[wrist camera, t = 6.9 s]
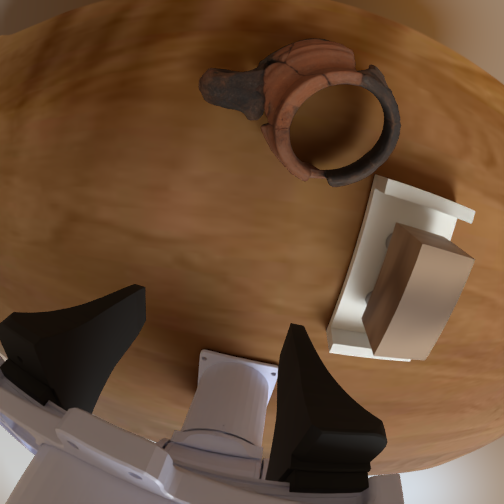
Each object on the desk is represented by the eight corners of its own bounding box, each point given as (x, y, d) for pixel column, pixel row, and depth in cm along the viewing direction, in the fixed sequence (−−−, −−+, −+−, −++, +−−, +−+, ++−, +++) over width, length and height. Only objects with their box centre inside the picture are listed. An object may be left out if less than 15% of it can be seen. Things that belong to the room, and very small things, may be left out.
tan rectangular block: (407, 325, 20) (425, 360, 16) (361, 318, 20) (373, 355, 16) (444, 236, 17) (475, 259, 13) (396, 222, 17) (422, 243, 13)
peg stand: (400, 341, 23) (409, 361, 21) (326, 330, 24) (329, 352, 21) (456, 202, 18) (475, 211, 15) (374, 174, 18) (388, 178, 16)
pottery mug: (367, 49, 15) (432, 78, 10) (341, 147, 22) (382, 207, 17) (205, 25, 14) (194, 30, 8) (201, 139, 21) (194, 201, 15)
